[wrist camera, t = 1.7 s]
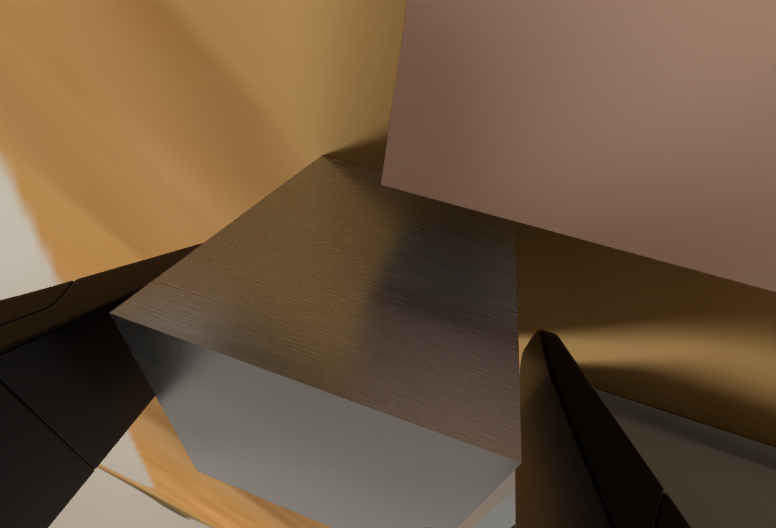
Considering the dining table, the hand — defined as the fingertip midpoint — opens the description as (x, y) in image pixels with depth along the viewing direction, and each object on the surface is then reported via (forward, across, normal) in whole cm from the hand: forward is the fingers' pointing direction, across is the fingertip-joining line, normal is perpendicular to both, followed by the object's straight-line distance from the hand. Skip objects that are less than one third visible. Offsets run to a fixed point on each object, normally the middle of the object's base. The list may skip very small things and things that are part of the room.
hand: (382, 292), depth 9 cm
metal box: (+2, 0, 0) cm, 2 cm away
